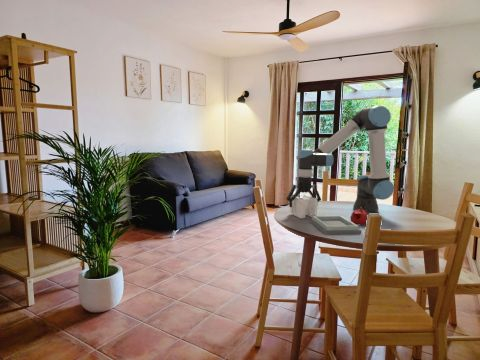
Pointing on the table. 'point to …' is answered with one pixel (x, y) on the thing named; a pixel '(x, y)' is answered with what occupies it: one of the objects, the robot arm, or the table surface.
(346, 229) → the grey green tray
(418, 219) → the table surface
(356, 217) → the red tomato
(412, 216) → the table surface
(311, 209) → the cable organizer
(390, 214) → the table surface
